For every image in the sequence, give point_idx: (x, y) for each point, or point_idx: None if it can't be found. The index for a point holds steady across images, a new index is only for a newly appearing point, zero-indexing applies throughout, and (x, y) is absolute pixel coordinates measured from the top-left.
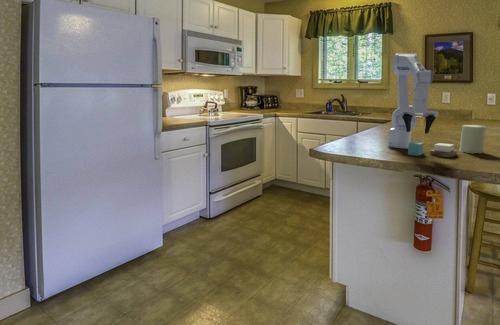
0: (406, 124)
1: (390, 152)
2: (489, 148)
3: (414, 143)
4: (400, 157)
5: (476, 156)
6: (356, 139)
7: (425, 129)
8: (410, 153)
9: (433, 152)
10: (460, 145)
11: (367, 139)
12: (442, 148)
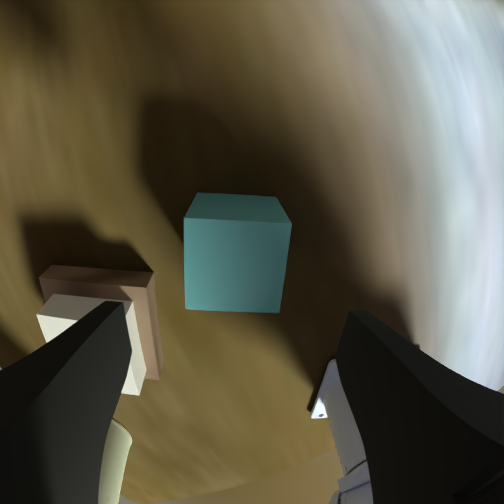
0: (422, 363)
1: (390, 197)
2: None
3: (239, 234)
4: (278, 45)
5: (25, 354)
6: (495, 389)
7: (95, 326)
8: (257, 197)
9: (129, 280)
10: (115, 443)
11: None
12: (77, 306)
